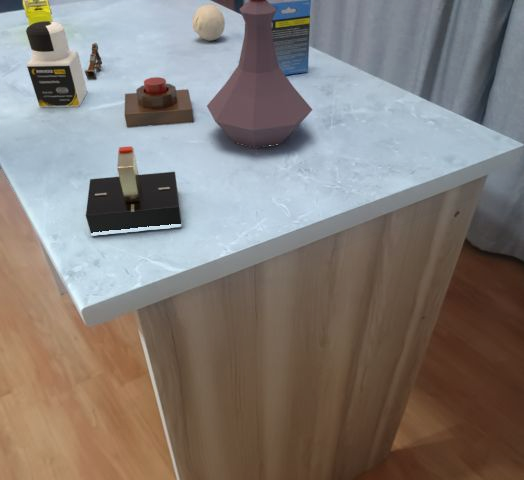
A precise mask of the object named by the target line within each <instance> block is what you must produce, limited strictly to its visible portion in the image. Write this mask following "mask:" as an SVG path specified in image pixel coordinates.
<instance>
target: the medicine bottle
mask: <svg viewBox="0 0 524 480" xmlns="http://www.w3.org/2000/svg"><path fill="white" fill-rule="evenodd" d="M25 33H26V36H27V39H28V43H29V46H30V48H31V53H32V55H33V56H32V57H31V59H30V60H29V61H28V62H27V63H26V68H27V71H28V75H29V78H30V81H31V85H32V86H33V90H34V93H35V97H36V100H37V103H38V106H39V108H45V109H46V108H79V107H81V104H82V102H83V101H84V99H85V98H86V96H87V93H88V88H87V85H86V80H85V76H84V72H83V67H82V64H81V63H82V62H81V59H80V55H79V51H78V50H75V49H73V50H72V49H70V47H69V42H68V38H67V36H66V31H65V26H63V25H62V23H59V22H56V21H53V22H52V21H43V22H37V23H34V24H31V25H30V26H29V25H28V27H26V30H25Z"/></svg>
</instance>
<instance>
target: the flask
mask: <svg viewBox="0 0 524 480" xmlns="http://www.w3.org/2000/svg"><path fill="white" fill-rule="evenodd" d="M271 4H272V3H270V2H269V1H268V0H248V1H247V2H245V4H243V5H242V6H241V7H240V8H239V12H240V14H241V16H242V19H243V21H244V35H243V41H242V47H241V50H240V56H239V60H238V65H237V67H236V68H235V69H234V70H233V72H232V74H231V75H230V77H229V78H228V80H227V81H226V82H225V84H224V85H223V86H222V87H221V88H220V90H219V91H218V92H217V93H216V94H215V95H214V96H213V98H212V99H211V100H210V101H209V102H208V103H207V105H206V107H207V109H208V111H209V113H210V115H211V116H212V118H213V121H214V122H215V123H216V124H217V125H218V126H219V128H221V129H222V131H223V132H224V133H225V134H226V135H227V136H228V137H229V138H230V139H231V140H232V141H233V142H234V143H235V144H236V143H239V144H238V145H240V144H243V145H242V146H244V145H247V146H246V147H249V146H251V147H250V148H253V147H255V148H254V149H257V148H256V147H262V148H264V147H263V146H269V145H276V144H279V145H281V144H282V143H283V142H284V141H285V140H286V139H288V138H289V137H290V136H291V134H293V132H294V131H295V130H296V129H297V127H299V126H300V125H301V123H302V122H303V121H304V120H305V119H306V118H307V117H308V115H310V113H311V112H312V111H313V108H312V107H311V106H310V105H309V103H308V102H307V101H306V100H305V98H304V97H303V96H302V94H300V93H299V92H298V90H297V89H296V88H295V87H294V85H293V84H292V83H291V82H290V80H289V78H288V77H287V75H285V74H284V73H283V71H282V70H281V69H280V67H279V64H278V60H277V55H276V51H275V47H274V42H273V38H272V27H271V22H272V20H273V18H274V15H275V13H276V9H275V8H274V7H273V6H272V5H271ZM288 136H289V137H288ZM282 141H283V142H282ZM281 142H282V143H281ZM276 146H277V145H276ZM269 147H270V146H269Z"/></svg>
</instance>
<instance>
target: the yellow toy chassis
mask: <svg viewBox="0 0 524 480" xmlns="http://www.w3.org/2000/svg"><path fill="white" fill-rule="evenodd" d="M21 2H22V7H23V10H24V13H25V17H26V18H27V20H28V27H29V26H30V25H31V24H34V23H37V22H43V21H52V22H54V20H53V17H52V15H53V13H52V9H51V5H50V4H51V3H50V0H22V1H21Z"/></svg>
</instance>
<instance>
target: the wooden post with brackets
mask: <svg viewBox="0 0 524 480" xmlns="http://www.w3.org/2000/svg"><path fill="white" fill-rule="evenodd" d="M102 65H103V61H102V57H101V56H100V53H99V45H98V43H97V42H93V43H91V53H90V56H89V65H88V68H87V69H85V70H84V74H85V76H86V79H88V80H97V75H96V72H97V73H98V72H101V68H102Z"/></svg>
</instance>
